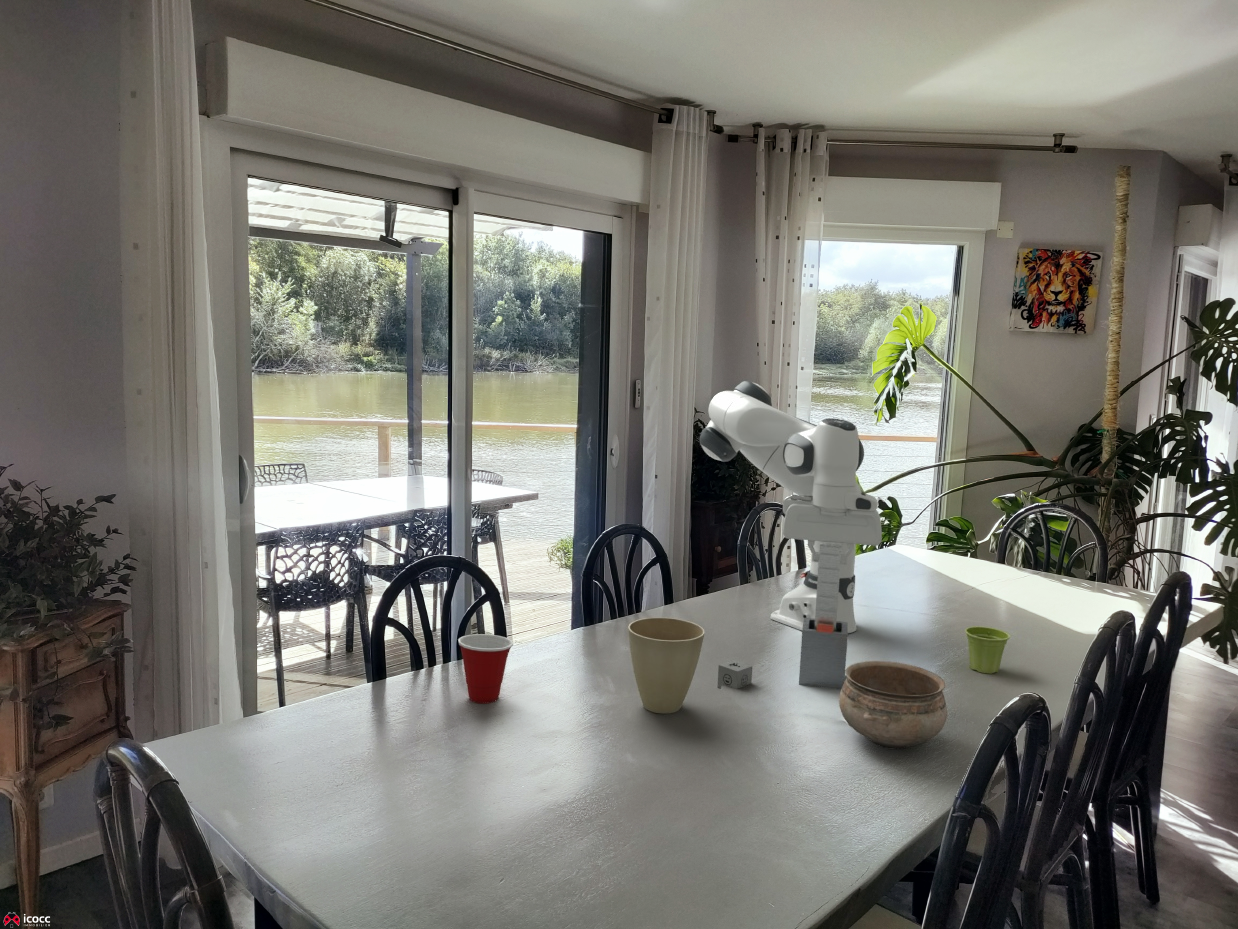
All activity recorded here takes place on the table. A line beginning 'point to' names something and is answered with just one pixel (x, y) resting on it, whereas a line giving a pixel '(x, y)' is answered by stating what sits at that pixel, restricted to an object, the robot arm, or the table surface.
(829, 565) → the column
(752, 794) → the table surface
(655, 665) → the plant pot
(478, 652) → the plastic cup
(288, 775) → the table surface
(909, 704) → the cooking pot
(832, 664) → the sleeve
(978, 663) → the plant pot
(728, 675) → the dice cube
